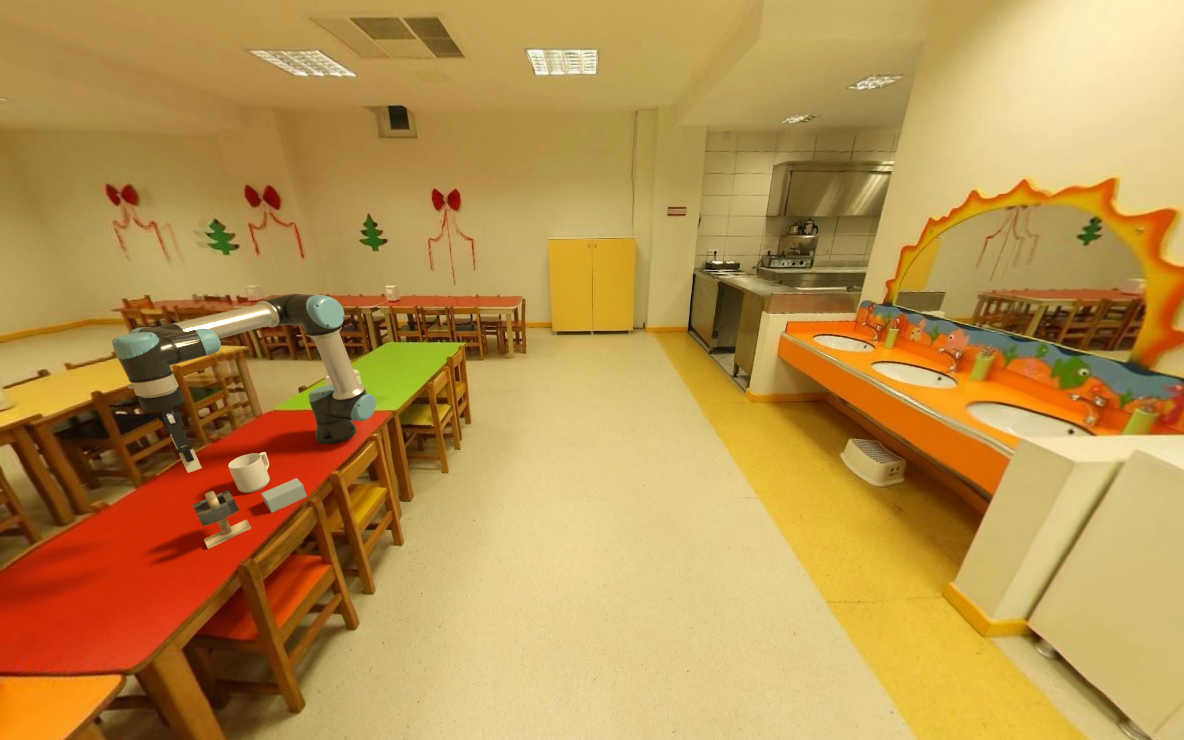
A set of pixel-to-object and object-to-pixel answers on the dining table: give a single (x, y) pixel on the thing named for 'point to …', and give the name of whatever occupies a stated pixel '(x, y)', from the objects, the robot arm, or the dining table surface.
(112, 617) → the dining table surface
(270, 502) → the block
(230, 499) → the c link
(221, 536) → the stand
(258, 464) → the mug
